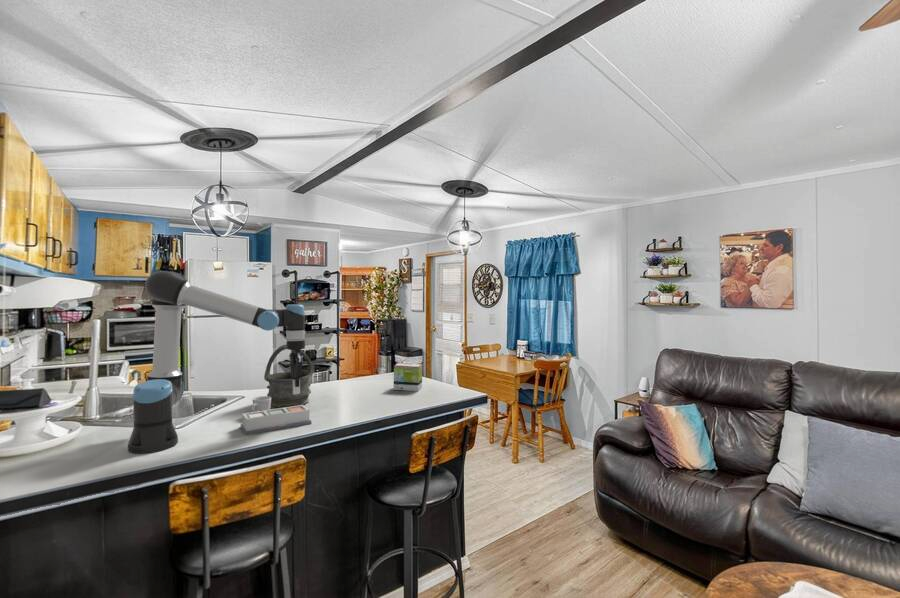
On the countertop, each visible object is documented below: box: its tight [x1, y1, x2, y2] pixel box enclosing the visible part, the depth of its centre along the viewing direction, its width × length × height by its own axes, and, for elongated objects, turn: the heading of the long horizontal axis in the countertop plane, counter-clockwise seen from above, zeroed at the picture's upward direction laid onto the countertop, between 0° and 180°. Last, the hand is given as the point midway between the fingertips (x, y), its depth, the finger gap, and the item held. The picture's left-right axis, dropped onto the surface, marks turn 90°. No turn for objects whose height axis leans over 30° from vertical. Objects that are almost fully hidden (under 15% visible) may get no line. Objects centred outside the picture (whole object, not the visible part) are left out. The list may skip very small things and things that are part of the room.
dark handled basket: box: [263, 343, 315, 409], centre depth 217 cm, size 22×23×30 cm
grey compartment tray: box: [239, 404, 312, 436], centre depth 181 cm, size 26×12×6 cm, turn 125°
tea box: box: [393, 362, 423, 392], centre depth 250 cm, size 15×10×15 cm, turn 81°
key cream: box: [248, 413, 264, 418], centre depth 176 cm, size 5×5×2 cm
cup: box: [250, 395, 272, 412], centre depth 194 cm, size 11×8×8 cm
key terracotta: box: [288, 407, 303, 412], centre depth 186 cm, size 5×5×2 cm
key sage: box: [269, 410, 284, 415], centre depth 181 cm, size 5×5×2 cm
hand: (296, 393), depth 186 cm, fingers closed
